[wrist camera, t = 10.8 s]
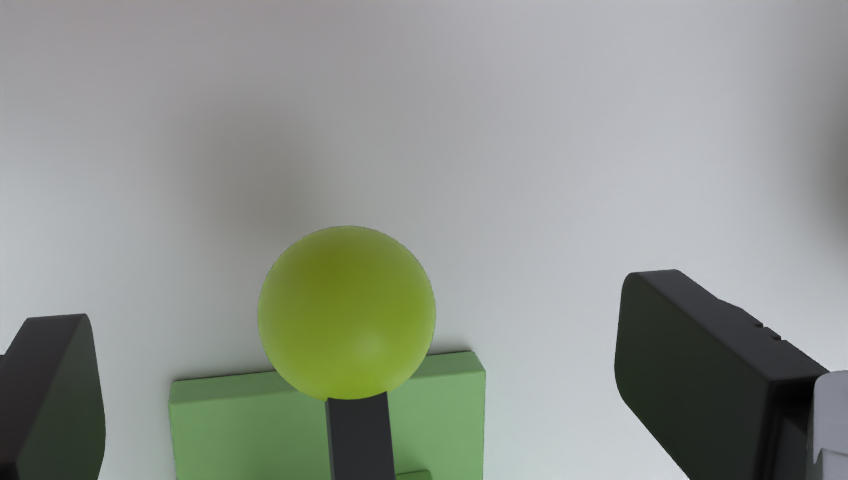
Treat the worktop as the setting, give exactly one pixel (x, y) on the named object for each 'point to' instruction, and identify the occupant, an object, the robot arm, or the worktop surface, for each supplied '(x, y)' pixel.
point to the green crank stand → (307, 430)
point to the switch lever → (349, 336)
